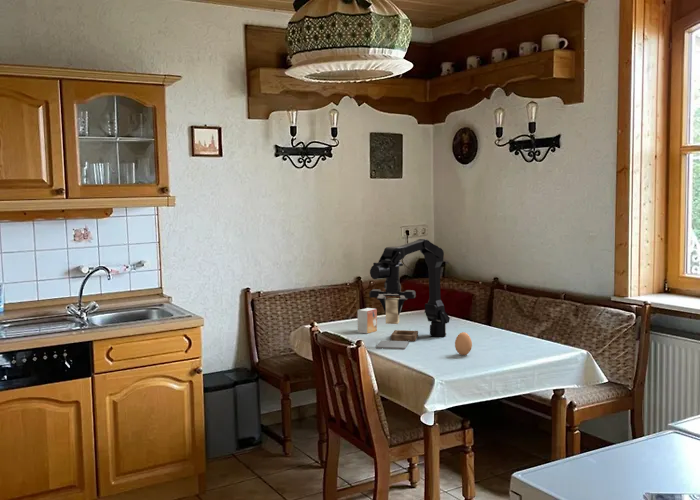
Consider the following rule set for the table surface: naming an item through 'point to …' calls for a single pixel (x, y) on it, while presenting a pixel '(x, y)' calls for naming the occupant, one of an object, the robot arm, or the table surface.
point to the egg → (463, 343)
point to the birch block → (392, 311)
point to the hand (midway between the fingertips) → (392, 314)
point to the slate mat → (392, 344)
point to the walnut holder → (404, 335)
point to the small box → (367, 320)
